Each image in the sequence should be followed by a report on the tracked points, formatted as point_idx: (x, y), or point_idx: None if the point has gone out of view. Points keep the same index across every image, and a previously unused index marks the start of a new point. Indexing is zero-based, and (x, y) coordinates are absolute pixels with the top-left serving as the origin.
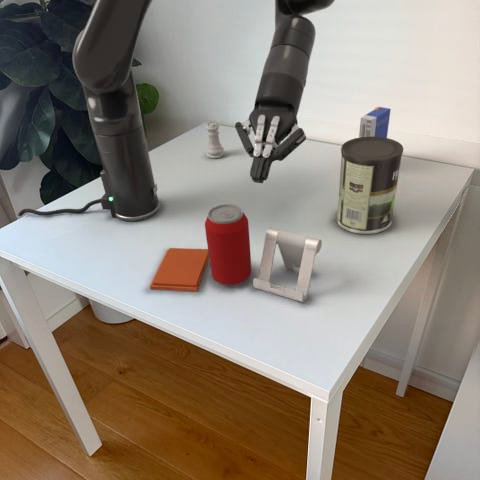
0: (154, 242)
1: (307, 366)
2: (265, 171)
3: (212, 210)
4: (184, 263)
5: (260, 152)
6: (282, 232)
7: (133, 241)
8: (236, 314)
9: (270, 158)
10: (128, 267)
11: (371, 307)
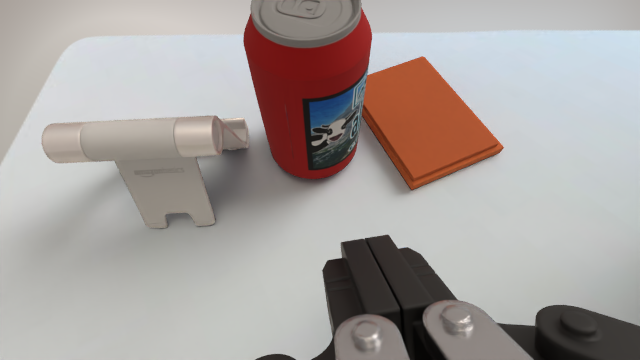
0: (567, 168)
1: (106, 49)
2: (329, 282)
3: (355, 5)
4: (420, 116)
5: (428, 330)
6: (163, 122)
7: (610, 150)
8: (247, 78)
9: (328, 348)
10: (517, 86)
11: (5, 189)
